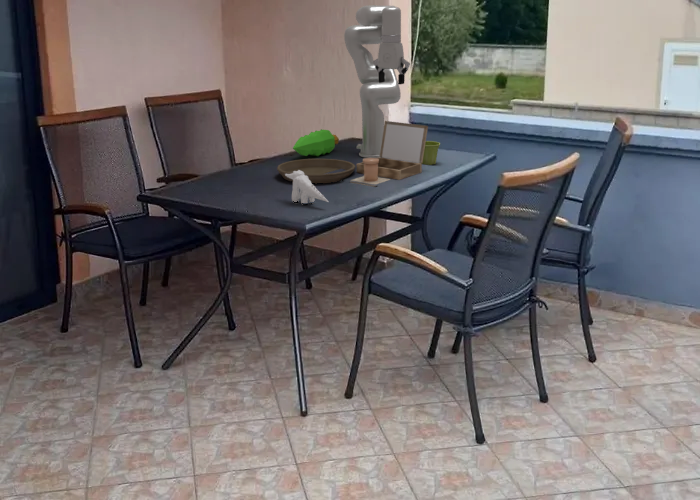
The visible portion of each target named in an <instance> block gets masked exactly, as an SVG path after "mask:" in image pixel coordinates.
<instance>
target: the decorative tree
mask: <svg viewBox="0 0 700 500" xmlns="http://www.w3.org/2000/svg"><path fill="white" fill-rule="evenodd" d="M339 140H340V139H339V137H338V136H337V135H336V134H333V133H331V131H330V130H328V129H319V130H315V131H311V132H310V133H309V134H304V136H300V137H299V138H298V139H297V140H296V142H295V143H294V145H293V147H292V149H293V150H294V151H295V152H296V153H298V154H299V155H300V156H304V157H307V156H311V157H312V156H313V157H320V155H325V154H331V152H332V151H333V150H334V149H335V147H336V145H338V144H339Z"/></svg>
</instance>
